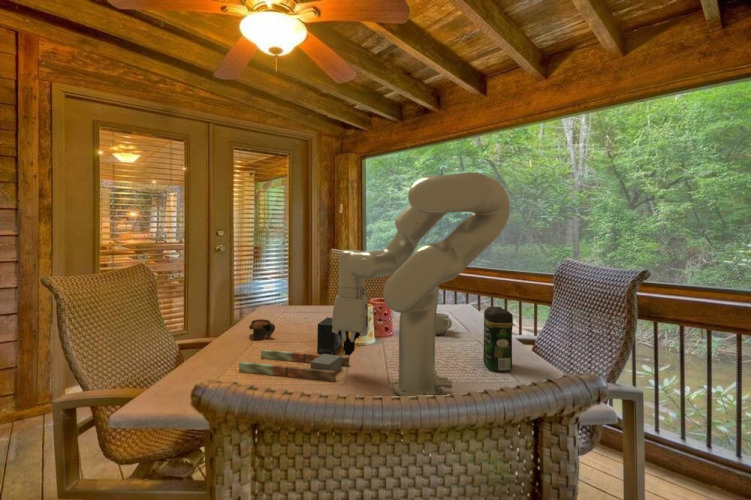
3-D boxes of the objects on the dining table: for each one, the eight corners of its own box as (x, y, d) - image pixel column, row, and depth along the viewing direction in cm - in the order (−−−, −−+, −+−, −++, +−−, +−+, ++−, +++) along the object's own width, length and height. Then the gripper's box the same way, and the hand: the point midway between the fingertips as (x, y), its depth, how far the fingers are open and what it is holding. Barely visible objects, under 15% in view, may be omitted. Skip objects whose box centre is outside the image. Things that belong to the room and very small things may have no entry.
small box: (334, 355, 127) (334, 324, 127) (316, 354, 129) (316, 323, 128) (343, 346, 138) (343, 317, 137) (326, 345, 139) (326, 316, 138)
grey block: (341, 369, 115) (341, 356, 115) (328, 378, 108) (328, 364, 108) (324, 366, 118) (324, 353, 117) (310, 375, 110) (310, 361, 110)
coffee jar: (480, 361, 122) (481, 304, 121) (505, 362, 121) (506, 305, 121) (488, 372, 112) (489, 311, 111) (515, 373, 112) (516, 311, 111)
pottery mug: (242, 341, 145) (244, 320, 149) (258, 346, 153) (260, 326, 156) (267, 336, 141) (269, 315, 145) (282, 341, 149) (284, 321, 152)
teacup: (417, 331, 159) (417, 312, 158) (438, 328, 163) (438, 310, 163) (435, 340, 146) (436, 319, 146) (458, 336, 151) (459, 317, 150)
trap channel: (349, 365, 118) (349, 357, 118) (334, 381, 105) (334, 372, 105) (263, 356, 125) (262, 349, 125) (239, 371, 112) (239, 363, 112)
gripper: (378, 292, 112) (376, 352, 113) (331, 288, 115) (329, 346, 116) (372, 296, 104) (370, 361, 106) (322, 292, 108) (320, 354, 109)
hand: (348, 353), depth 111 cm, fingers closed
